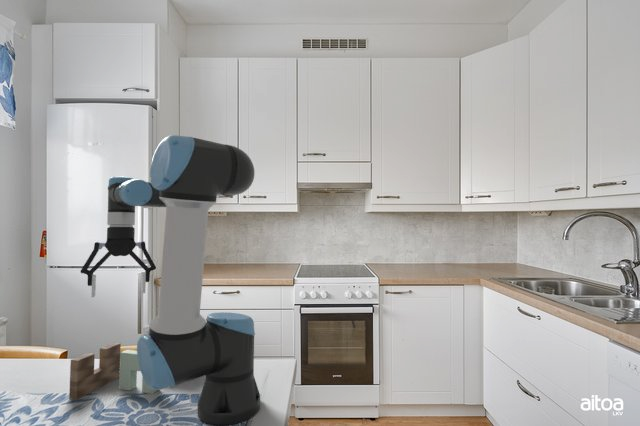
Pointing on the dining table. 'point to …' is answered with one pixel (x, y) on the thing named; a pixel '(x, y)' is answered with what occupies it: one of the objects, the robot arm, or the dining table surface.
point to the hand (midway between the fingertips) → (119, 294)
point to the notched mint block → (131, 372)
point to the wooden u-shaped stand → (94, 371)
